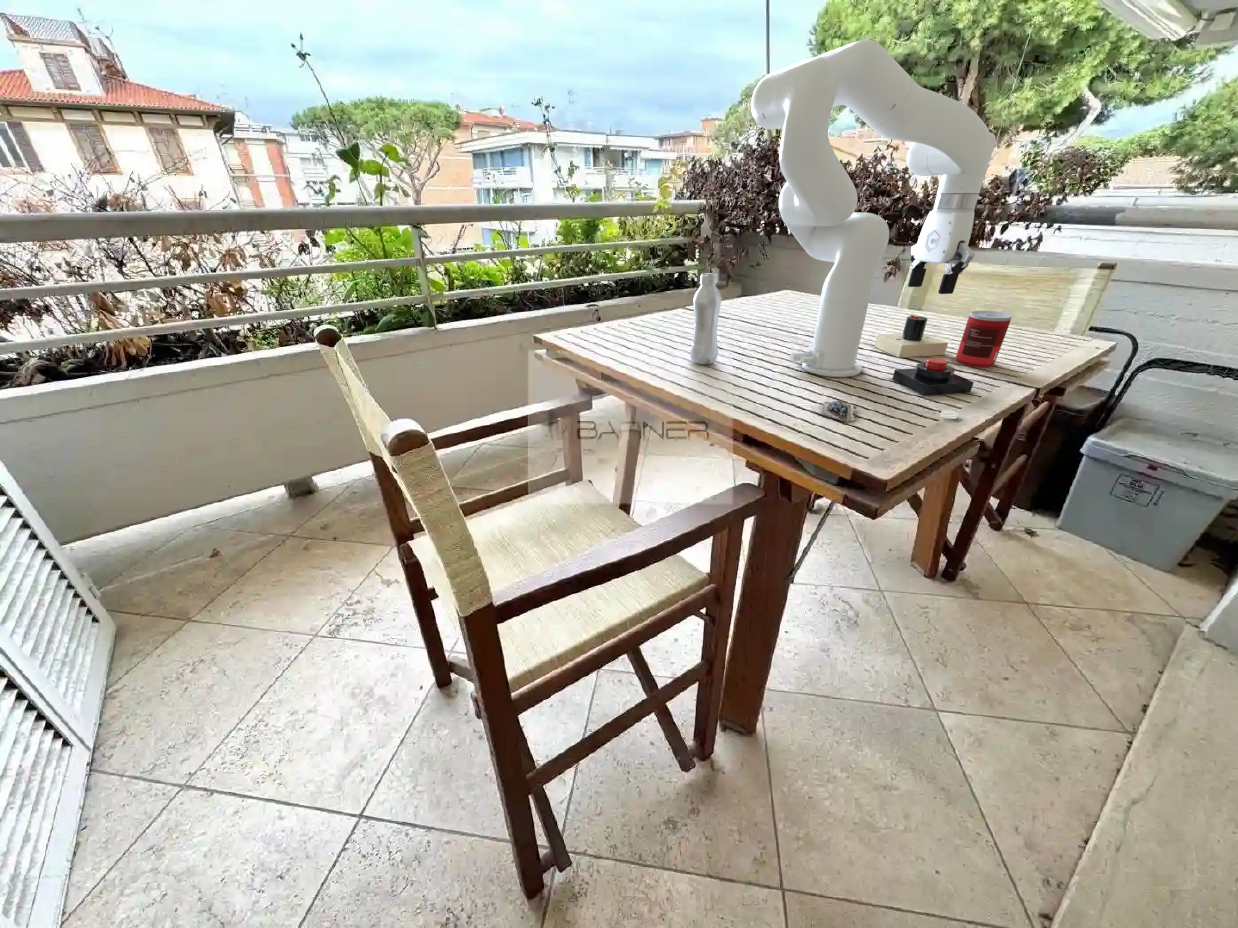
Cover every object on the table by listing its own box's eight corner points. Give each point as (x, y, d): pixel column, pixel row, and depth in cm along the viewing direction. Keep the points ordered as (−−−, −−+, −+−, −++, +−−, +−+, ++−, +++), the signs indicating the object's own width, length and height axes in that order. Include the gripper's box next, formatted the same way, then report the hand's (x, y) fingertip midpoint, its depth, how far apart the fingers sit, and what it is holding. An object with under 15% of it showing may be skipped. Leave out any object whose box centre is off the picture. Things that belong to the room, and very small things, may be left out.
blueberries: (850, 404, 91) (852, 395, 90) (868, 421, 84) (871, 411, 83) (814, 405, 92) (816, 395, 91) (829, 422, 85) (831, 412, 84)
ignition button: (932, 372, 96) (935, 363, 95) (920, 366, 99) (923, 358, 98) (949, 371, 96) (952, 362, 95) (936, 365, 99) (939, 357, 98)
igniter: (923, 396, 94) (929, 376, 92) (891, 379, 103) (896, 361, 101) (970, 392, 95) (977, 373, 93) (935, 376, 104) (940, 358, 102)
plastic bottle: (686, 365, 114) (690, 276, 104) (693, 357, 120) (698, 272, 110) (713, 368, 112) (720, 277, 102) (719, 360, 118) (726, 272, 108)
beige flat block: (898, 357, 116) (902, 344, 115) (874, 346, 125) (877, 334, 123) (944, 354, 117) (948, 342, 116) (917, 344, 126) (920, 332, 125)
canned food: (982, 357, 115) (998, 310, 109) (1002, 368, 108) (1020, 318, 102) (948, 357, 115) (962, 310, 110) (965, 368, 108) (982, 318, 103)
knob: (925, 340, 118) (932, 318, 116) (909, 341, 118) (915, 319, 115) (913, 335, 122) (919, 314, 119) (897, 336, 121) (903, 315, 119)
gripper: (910, 204, 108) (889, 284, 116) (971, 204, 93) (942, 297, 101) (940, 204, 109) (917, 284, 117) (1005, 204, 94) (974, 296, 102)
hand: (929, 290), depth 109 cm, fingers open, 9 cm apart
